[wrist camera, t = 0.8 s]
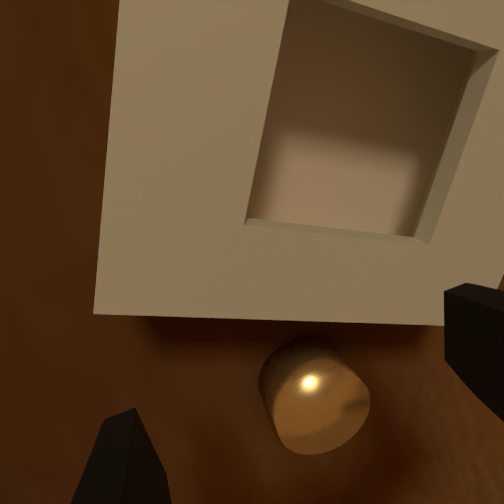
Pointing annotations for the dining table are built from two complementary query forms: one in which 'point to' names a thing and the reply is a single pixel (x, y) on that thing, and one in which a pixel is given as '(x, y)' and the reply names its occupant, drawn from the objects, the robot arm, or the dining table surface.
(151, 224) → the beige square holder
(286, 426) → the gold rounded piece
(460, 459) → the dining table surface
